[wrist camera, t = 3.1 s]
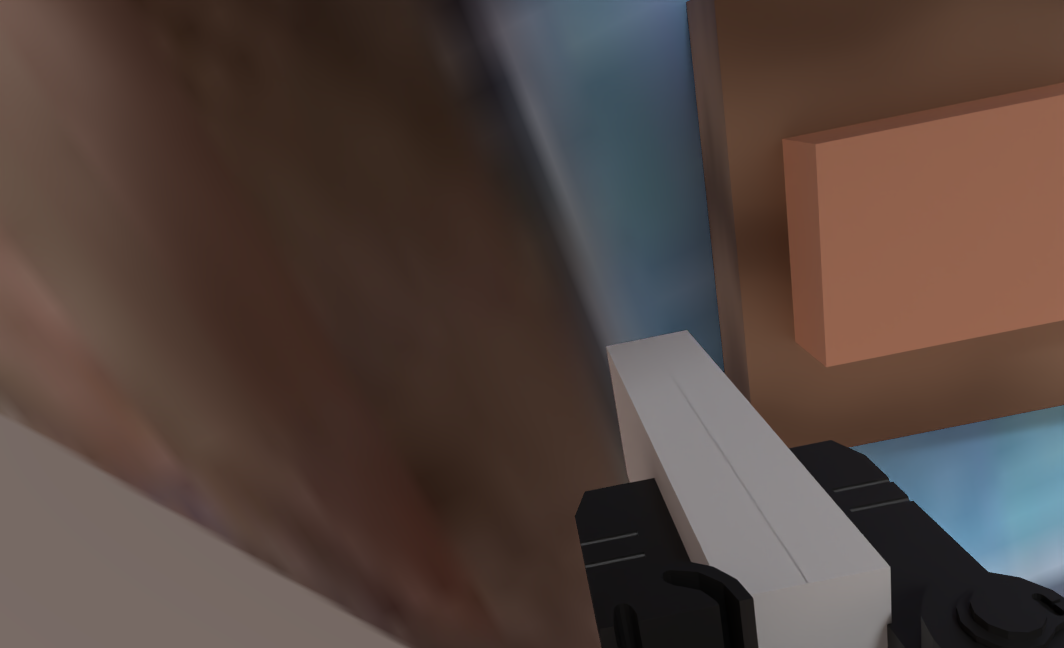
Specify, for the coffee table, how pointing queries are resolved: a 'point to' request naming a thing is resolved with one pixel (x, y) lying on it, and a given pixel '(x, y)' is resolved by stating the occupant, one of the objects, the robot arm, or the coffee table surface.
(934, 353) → the board
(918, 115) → the salmon flat rectangular block
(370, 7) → the coffee table surface
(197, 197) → the coffee table surface
